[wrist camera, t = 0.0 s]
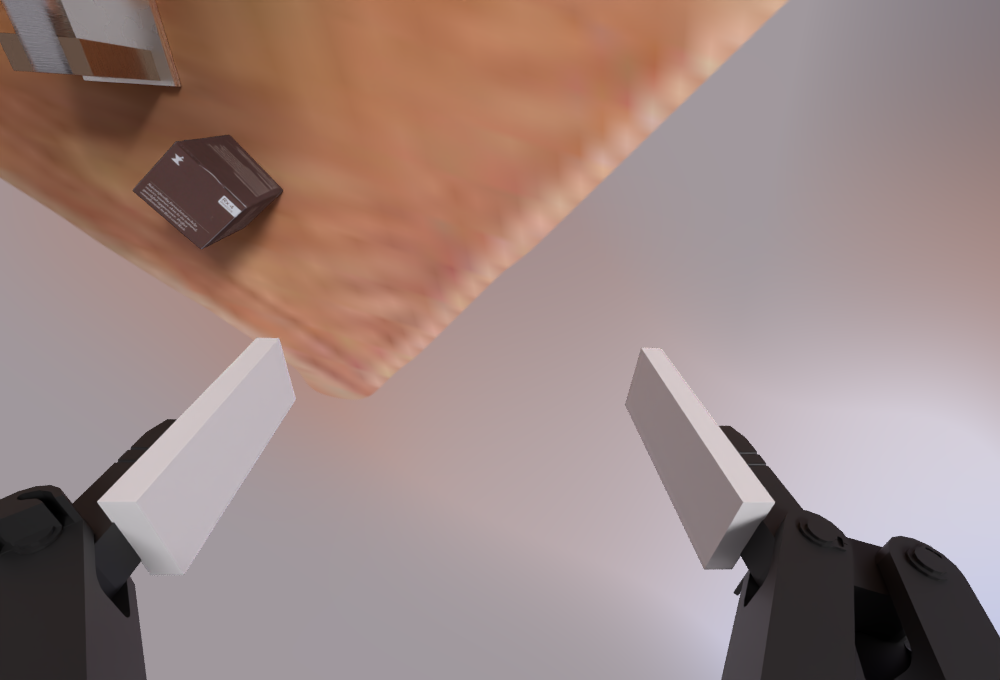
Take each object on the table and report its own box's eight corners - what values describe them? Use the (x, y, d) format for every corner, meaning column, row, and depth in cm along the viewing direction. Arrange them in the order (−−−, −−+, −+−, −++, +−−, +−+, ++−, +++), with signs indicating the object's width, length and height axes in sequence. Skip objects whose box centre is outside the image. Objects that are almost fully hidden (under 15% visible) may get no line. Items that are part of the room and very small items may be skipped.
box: (189, 174, 36) (128, 189, 30) (230, 132, 35) (174, 138, 28) (246, 228, 39) (200, 251, 33) (286, 191, 37) (246, 208, 31)
